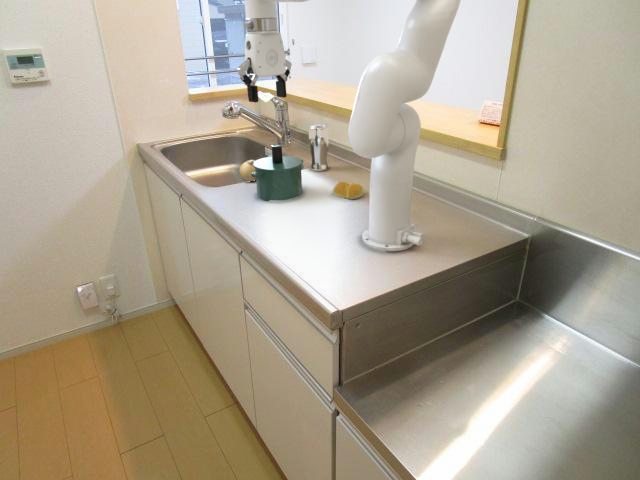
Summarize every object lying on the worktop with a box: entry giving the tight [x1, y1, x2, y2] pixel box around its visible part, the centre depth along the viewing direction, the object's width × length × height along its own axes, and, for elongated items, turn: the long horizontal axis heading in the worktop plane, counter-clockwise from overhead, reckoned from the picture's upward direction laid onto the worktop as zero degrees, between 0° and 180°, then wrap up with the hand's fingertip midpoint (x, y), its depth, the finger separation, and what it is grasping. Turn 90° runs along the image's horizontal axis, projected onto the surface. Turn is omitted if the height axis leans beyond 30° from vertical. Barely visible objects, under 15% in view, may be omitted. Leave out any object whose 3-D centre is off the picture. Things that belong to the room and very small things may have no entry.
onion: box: [238, 159, 256, 182], centre depth 150 cm, size 8×8×7 cm
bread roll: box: [332, 181, 364, 200], centre depth 135 cm, size 8×9×4 cm
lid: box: [253, 144, 303, 171], centre depth 133 cm, size 15×15×6 cm
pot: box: [251, 159, 304, 202], centre depth 136 cm, size 14×19×10 cm
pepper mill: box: [308, 124, 330, 172], centre depth 158 cm, size 7×7×15 cm
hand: (268, 99), depth 118 cm, fingers open, 9 cm apart
